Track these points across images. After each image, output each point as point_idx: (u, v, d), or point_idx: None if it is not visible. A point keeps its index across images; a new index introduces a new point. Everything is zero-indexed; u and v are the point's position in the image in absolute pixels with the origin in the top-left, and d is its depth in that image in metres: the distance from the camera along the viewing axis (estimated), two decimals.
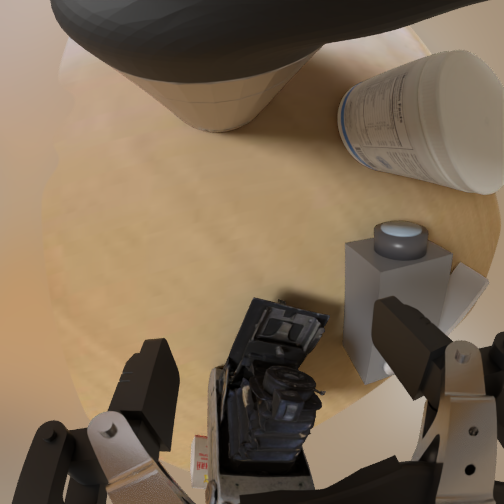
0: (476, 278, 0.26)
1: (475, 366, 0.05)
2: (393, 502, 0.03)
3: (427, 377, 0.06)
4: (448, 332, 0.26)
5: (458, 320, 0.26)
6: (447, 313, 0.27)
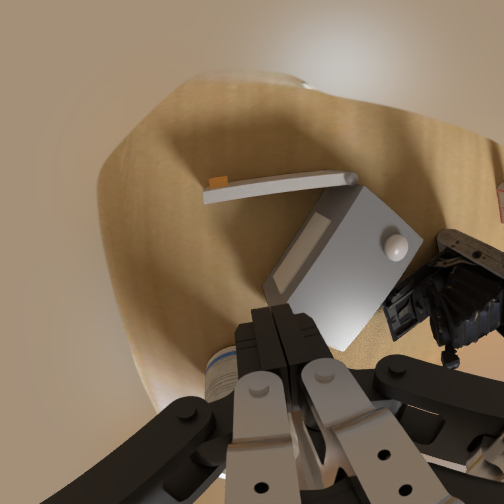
0: None
1: (331, 390, 0.06)
2: None
3: (296, 390, 0.07)
4: (312, 182, 0.21)
5: (287, 186, 0.21)
6: None
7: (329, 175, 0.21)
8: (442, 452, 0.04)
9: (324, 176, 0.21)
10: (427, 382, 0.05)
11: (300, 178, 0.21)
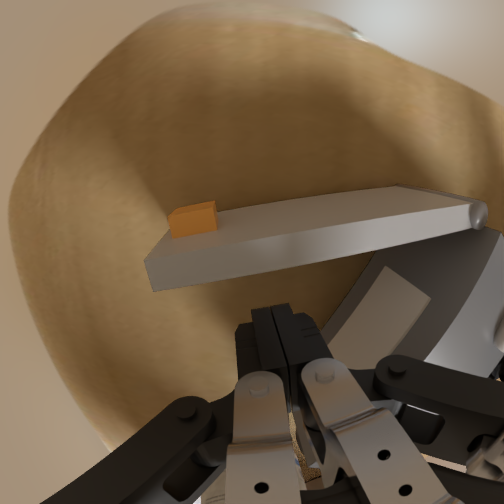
0: None
1: (331, 390, 0.06)
2: None
3: (296, 390, 0.07)
4: (419, 226, 0.08)
5: (369, 237, 0.08)
6: None
7: (448, 209, 0.08)
8: (442, 452, 0.04)
9: (441, 211, 0.08)
10: (427, 382, 0.05)
11: (398, 217, 0.08)
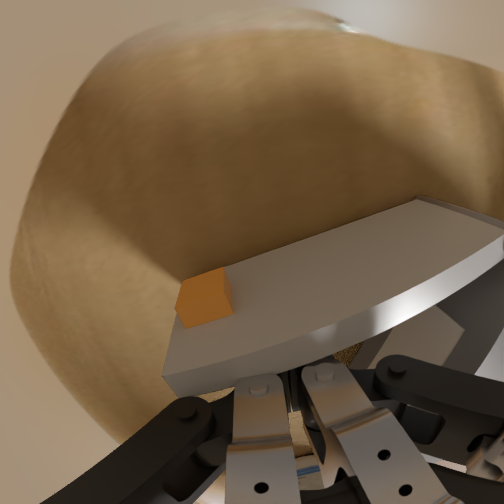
0: None
1: (332, 390, 0.06)
2: None
3: (296, 390, 0.07)
4: (456, 278, 0.06)
5: (404, 308, 0.06)
6: None
7: (484, 248, 0.06)
8: (442, 452, 0.04)
9: (477, 254, 0.06)
10: (427, 382, 0.05)
11: (435, 278, 0.06)
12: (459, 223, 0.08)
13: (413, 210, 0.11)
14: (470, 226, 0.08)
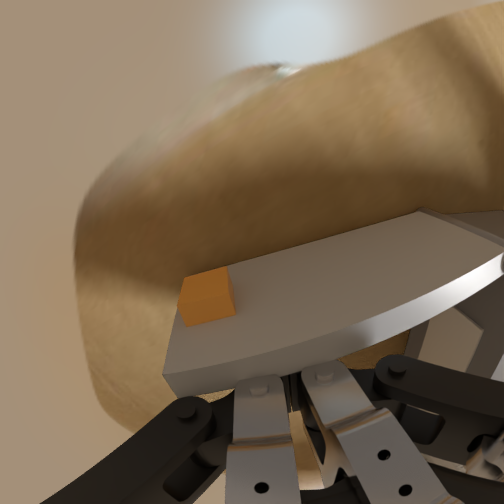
0: None
1: (331, 390, 0.06)
2: None
3: (296, 390, 0.07)
4: (456, 292, 0.06)
5: (406, 318, 0.06)
6: None
7: (485, 264, 0.06)
8: (442, 452, 0.04)
9: (478, 270, 0.06)
10: (427, 382, 0.05)
11: (437, 290, 0.06)
12: (461, 238, 0.08)
13: (416, 222, 0.11)
14: (471, 242, 0.08)
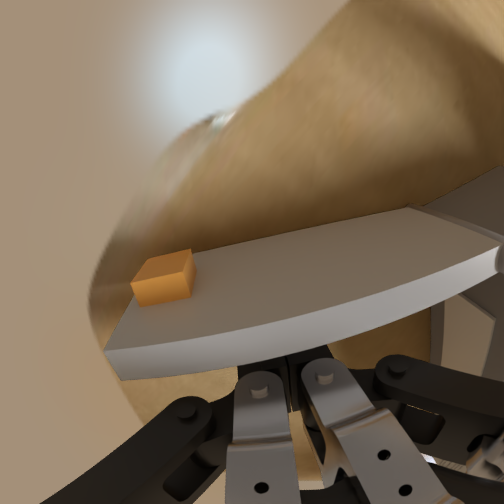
0: None
1: (331, 390, 0.06)
2: None
3: (296, 390, 0.07)
4: (443, 286, 0.06)
5: (381, 311, 0.06)
6: None
7: (477, 258, 0.06)
8: (442, 452, 0.04)
9: (469, 263, 0.06)
10: (427, 382, 0.05)
11: (419, 281, 0.06)
12: (451, 232, 0.08)
13: (403, 216, 0.10)
14: (463, 235, 0.07)
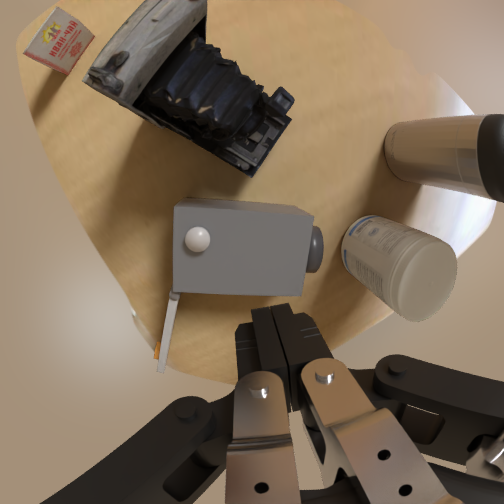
0: None
1: (331, 390, 0.06)
2: None
3: (296, 390, 0.07)
4: (169, 320, 0.30)
5: (167, 335, 0.31)
6: (173, 324, 0.32)
7: (168, 308, 0.30)
8: (442, 452, 0.04)
9: (167, 312, 0.30)
10: (427, 382, 0.05)
11: (164, 326, 0.30)
12: None
13: None
14: None
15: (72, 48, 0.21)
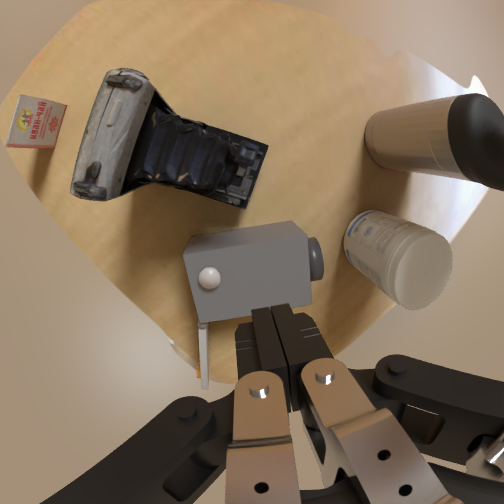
0: (208, 378, 0.39)
1: (331, 390, 0.06)
2: None
3: (296, 390, 0.07)
4: (202, 346, 0.35)
5: (203, 357, 0.35)
6: (207, 347, 0.37)
7: (199, 336, 0.34)
8: (442, 452, 0.04)
9: (199, 339, 0.34)
10: (427, 382, 0.05)
11: (200, 351, 0.35)
12: None
13: None
14: None
15: (49, 124, 0.26)
